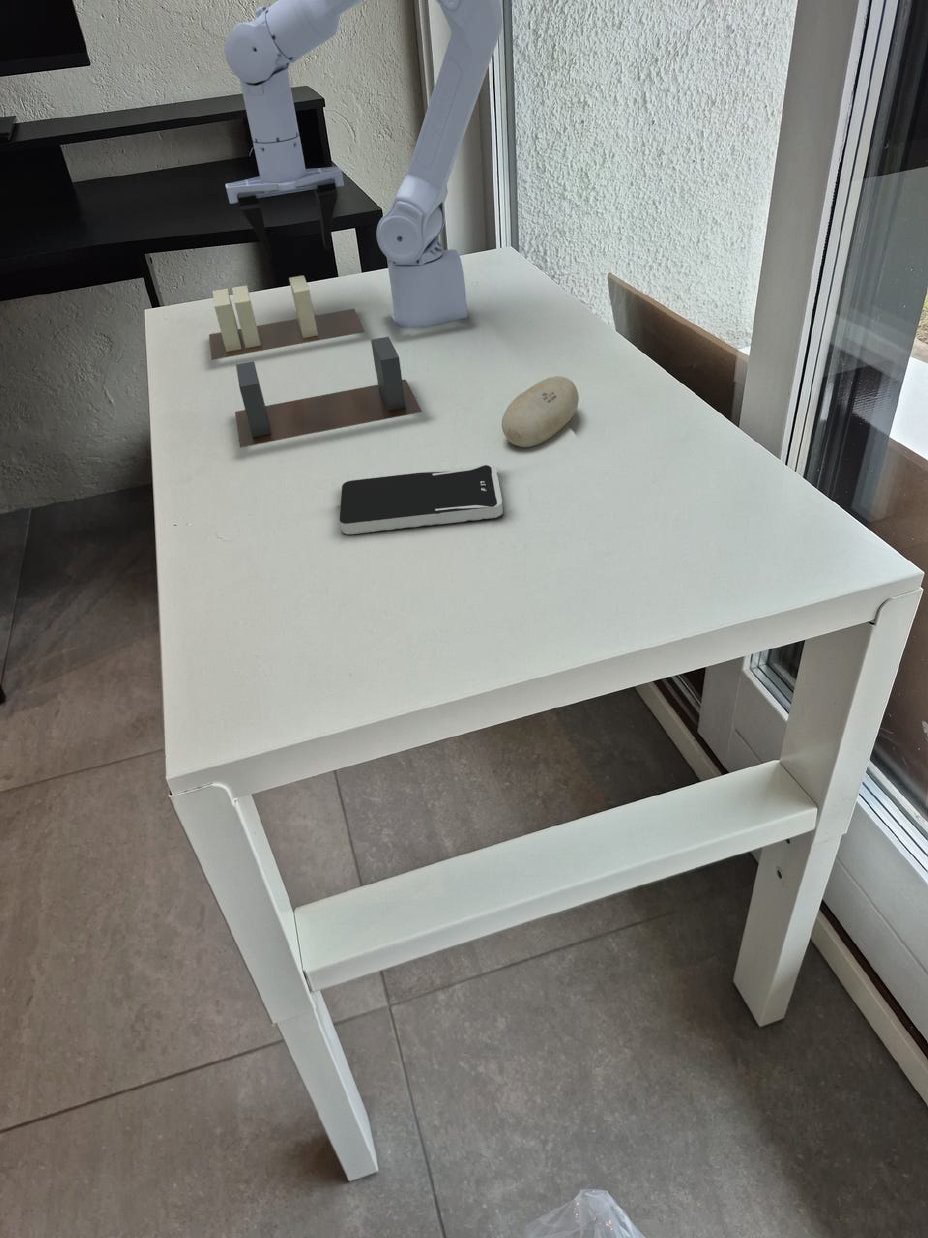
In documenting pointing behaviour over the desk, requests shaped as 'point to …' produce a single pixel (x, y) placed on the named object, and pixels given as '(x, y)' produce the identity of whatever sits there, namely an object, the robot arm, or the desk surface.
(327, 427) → the shelf
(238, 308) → the cream books
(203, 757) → the desk surface
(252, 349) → the shelf
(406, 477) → the smartphone
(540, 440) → the stone
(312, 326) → the cream book
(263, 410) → the grey books
